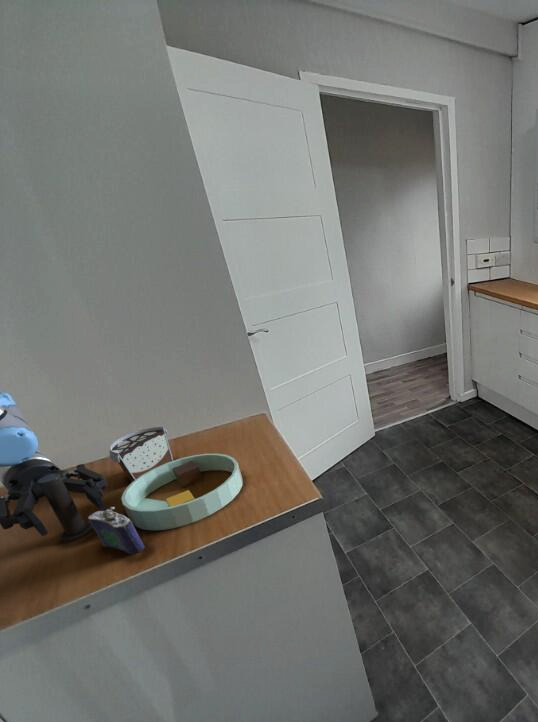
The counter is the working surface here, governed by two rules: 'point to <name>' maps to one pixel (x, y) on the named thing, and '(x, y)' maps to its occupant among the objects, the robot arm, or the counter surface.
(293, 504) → the counter surface
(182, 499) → the mustard block
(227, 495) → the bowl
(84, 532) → the dark cylinder with base
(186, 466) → the walnut block
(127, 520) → the flask
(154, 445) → the food container
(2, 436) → the robot arm
